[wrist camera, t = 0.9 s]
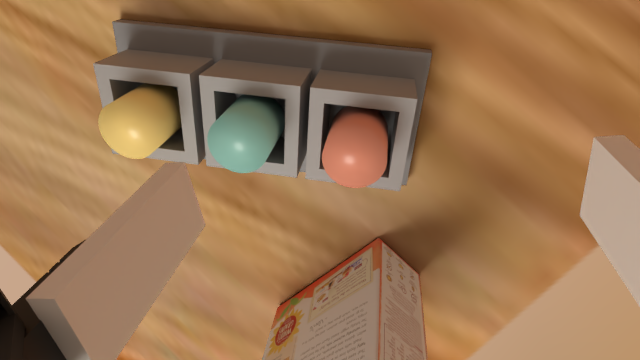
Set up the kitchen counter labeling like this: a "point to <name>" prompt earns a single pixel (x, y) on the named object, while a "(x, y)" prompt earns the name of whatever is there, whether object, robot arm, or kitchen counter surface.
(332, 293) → the cracker box
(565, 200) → the kitchen counter surface
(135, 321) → the robot arm
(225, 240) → the kitchen counter surface
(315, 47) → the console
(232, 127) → the teal button
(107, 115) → the mustard button
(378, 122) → the salmon button
